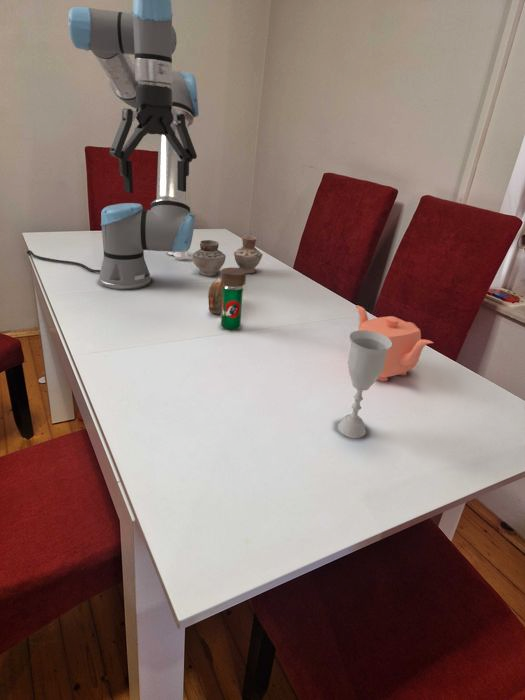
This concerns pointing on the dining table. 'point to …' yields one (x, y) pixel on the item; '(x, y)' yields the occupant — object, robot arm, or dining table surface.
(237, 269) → the brown short cylinder
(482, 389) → the dining table surface
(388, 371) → the teapot
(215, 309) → the bread slice
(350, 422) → the chalice
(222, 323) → the soda can
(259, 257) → the pottery
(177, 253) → the shaker set
